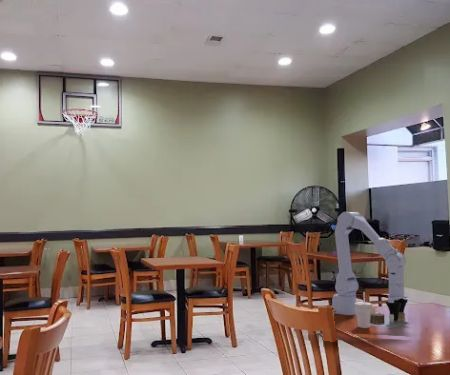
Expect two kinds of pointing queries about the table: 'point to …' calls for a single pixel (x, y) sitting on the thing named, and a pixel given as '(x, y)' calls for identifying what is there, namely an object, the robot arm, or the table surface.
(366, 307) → the smoothie
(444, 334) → the table surface
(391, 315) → the gear board
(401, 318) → the beech gear
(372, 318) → the walnut gear
